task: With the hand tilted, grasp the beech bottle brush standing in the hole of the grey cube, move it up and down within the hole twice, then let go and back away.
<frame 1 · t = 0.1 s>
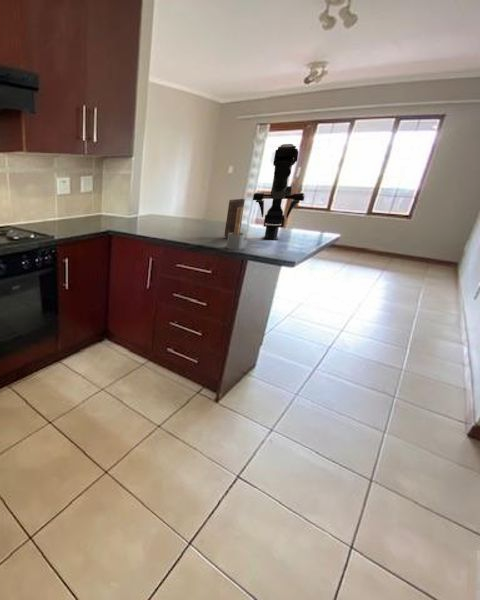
hand: (274, 217, 144), 15 cm above the countertop, tool pointing down, fingers open, 9 cm apart
grey cube: (234, 248, 155), on the countertop
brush: (234, 247, 155), resting on grey cube
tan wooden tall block: (231, 238, 176), on the countertop
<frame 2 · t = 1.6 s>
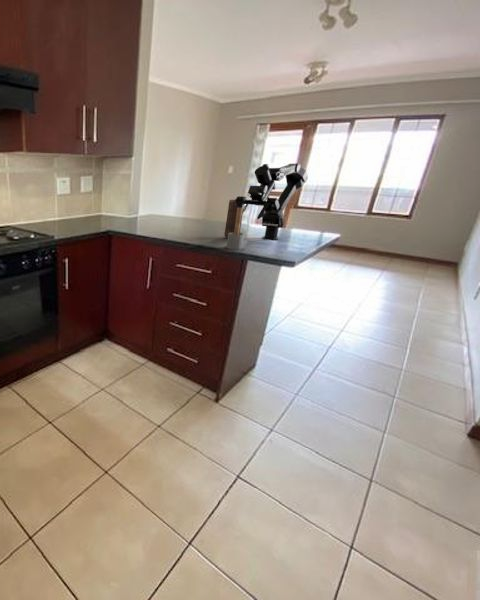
hand: (247, 217, 154), 13 cm above the countertop, tool tilted 45°, fingers open, 9 cm apart
nothing on the countertop moved.
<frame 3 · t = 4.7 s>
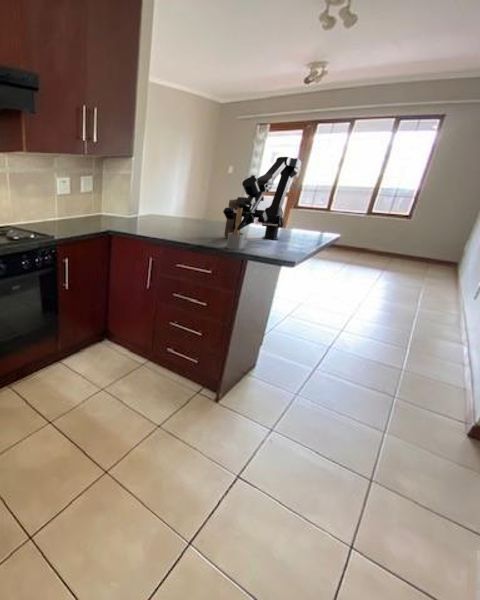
hand: (235, 229, 151), 9 cm above the countertop, tool tilted 45°, fingers closed on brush, 2 cm apart
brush: (234, 247, 155), point 1 cm above the countertop, touching grey cube, gripper
everything else where it was.
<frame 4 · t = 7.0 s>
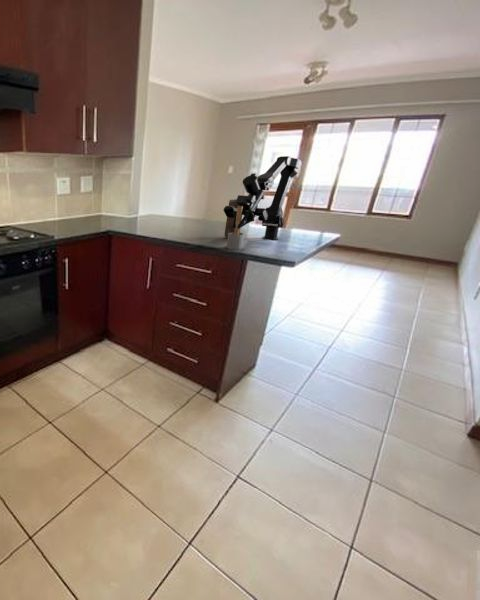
hand: (235, 227, 151), 10 cm above the countertop, tool tilted 45°, fingers closed on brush, 2 cm apart
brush: (234, 246, 155), point 1 cm above the countertop, touching gripper
everything else where it was.
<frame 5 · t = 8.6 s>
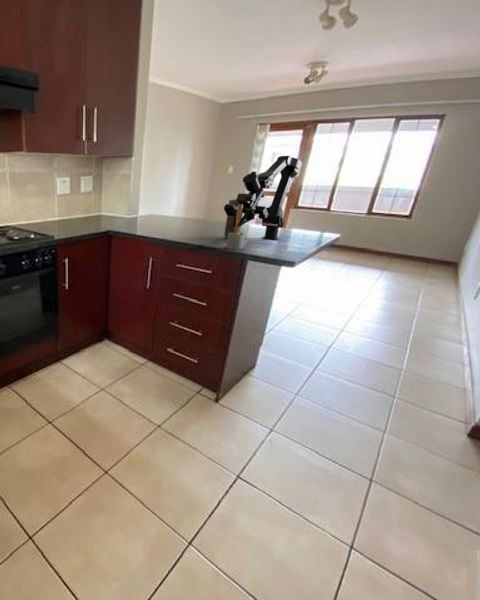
hand: (235, 226, 150), 11 cm above the countertop, tool tilted 45°, fingers closed on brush, 2 cm apart
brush: (235, 244, 154), point 2 cm above the countertop, touching gripper
everything else where it was.
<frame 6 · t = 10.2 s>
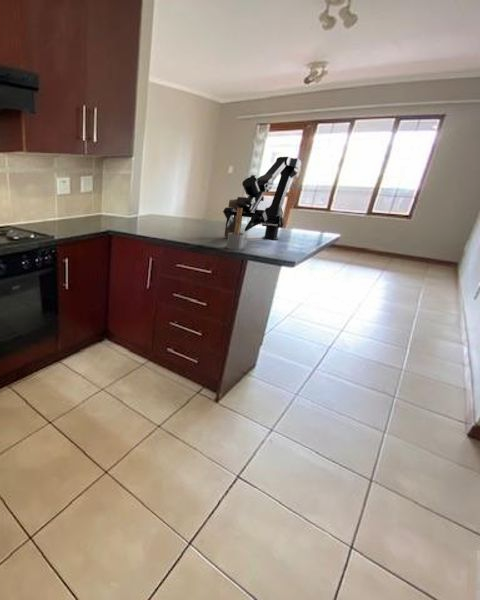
hand: (235, 229, 151), 9 cm above the countertop, tool tilted 45°, fingers open, 9 cm apart
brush: (234, 247, 155), resting on grey cube
everything else where it was.
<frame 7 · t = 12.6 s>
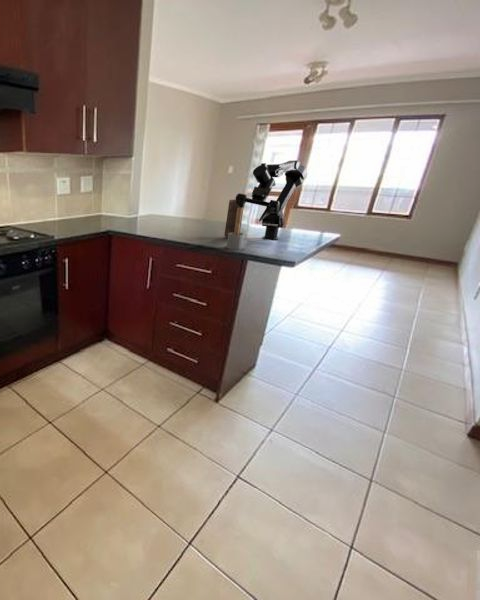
hand: (249, 218, 155), 13 cm above the countertop, tool tilted 35°, fingers open, 9 cm apart
nothing on the countertop moved.
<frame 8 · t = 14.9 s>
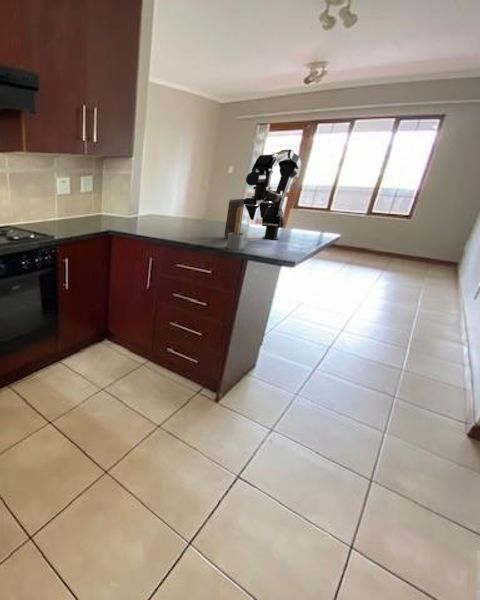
hand: (257, 218, 159), 12 cm above the countertop, tool pointing down, fingers open, 9 cm apart
nothing on the countertop moved.
at the end: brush 0.0 cm off-centre in the grey cube, point 0.5 cm above the grey cube's base; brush tilted 0°; the gripper is holding nothing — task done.
